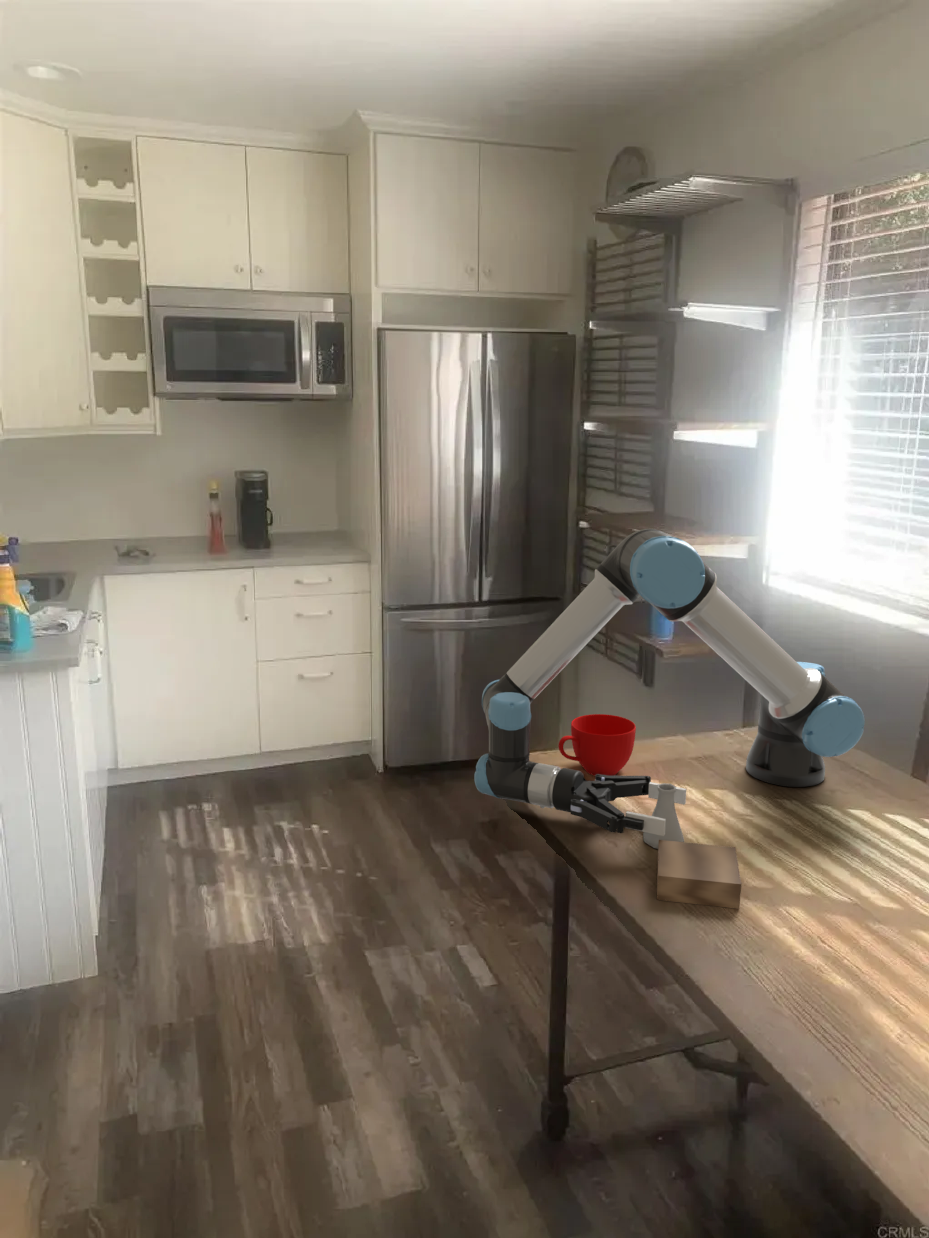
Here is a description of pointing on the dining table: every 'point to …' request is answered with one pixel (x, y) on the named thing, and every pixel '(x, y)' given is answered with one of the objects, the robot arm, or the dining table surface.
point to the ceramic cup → (601, 743)
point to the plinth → (698, 874)
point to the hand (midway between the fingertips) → (675, 811)
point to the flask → (665, 817)
